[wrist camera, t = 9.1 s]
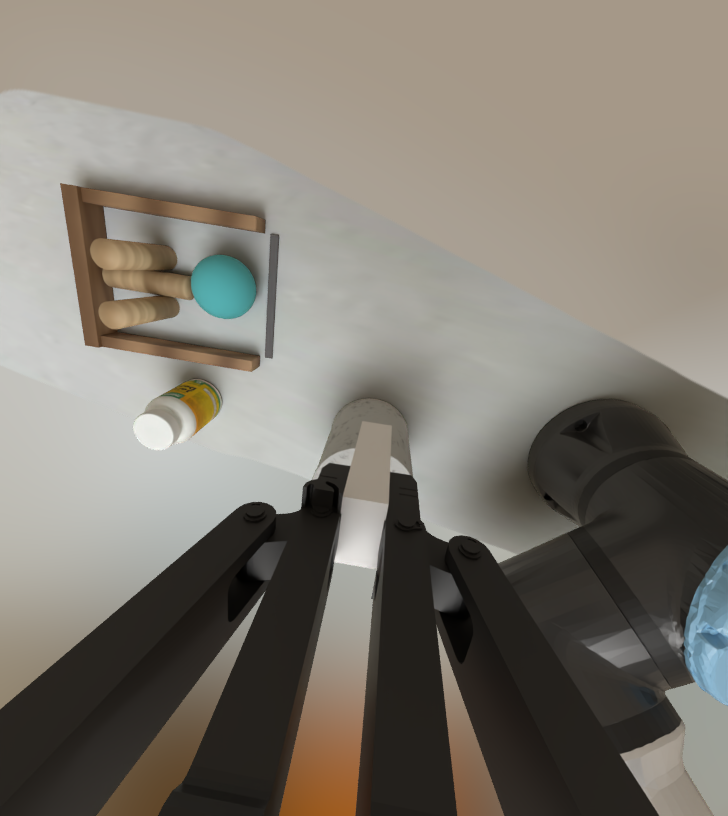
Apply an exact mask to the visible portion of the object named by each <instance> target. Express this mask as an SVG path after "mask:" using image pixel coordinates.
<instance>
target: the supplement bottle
mask: <svg viewBox="0 0 728 816" xmlns="http://www.w3.org/2000/svg"><path fill="white" fill-rule="evenodd" d="M221 406H222V399H221V396H220V394H219V392H218V390H217V389H216V388H215V387H214V386H213V385H212V384H210V383H209V382H207V381H204V380H201V379H192V380H189V381H186V382H184V383H183V384H181V385H179V386H177V387H175V388H174V389H172V390H170V391H168V392H166V393H164V394H163V395H161V396H159V397H157V398H155V399H154V400H152V401H151V402H150V403H149V404H148V405H147V407H146V409H145V411H144V413H143V414H141V415H140V416H138V417H137V418H136V420H135V421H134V424H133V430H134V433H135V436H136V438H137V439H138V440H139V441H140V442H141V443H142V444H143V445H144V446H146V447H147V448H150V449H153V450H164V449H166V448H168V447H170V446H171V445H172V444H179V443H183V442H185V441H187V440H188V439H190V438H191V437H192V436H193V435H194V434H196V433H197V432H198V431H199V430H200V429H201V428H203V427H204V426H205V425H206V424H207V423H209V422H210V421H211V420H212V419H213V418H214V417H216V416H217V414H218V413H219V411H220V409H221Z"/></svg>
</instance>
